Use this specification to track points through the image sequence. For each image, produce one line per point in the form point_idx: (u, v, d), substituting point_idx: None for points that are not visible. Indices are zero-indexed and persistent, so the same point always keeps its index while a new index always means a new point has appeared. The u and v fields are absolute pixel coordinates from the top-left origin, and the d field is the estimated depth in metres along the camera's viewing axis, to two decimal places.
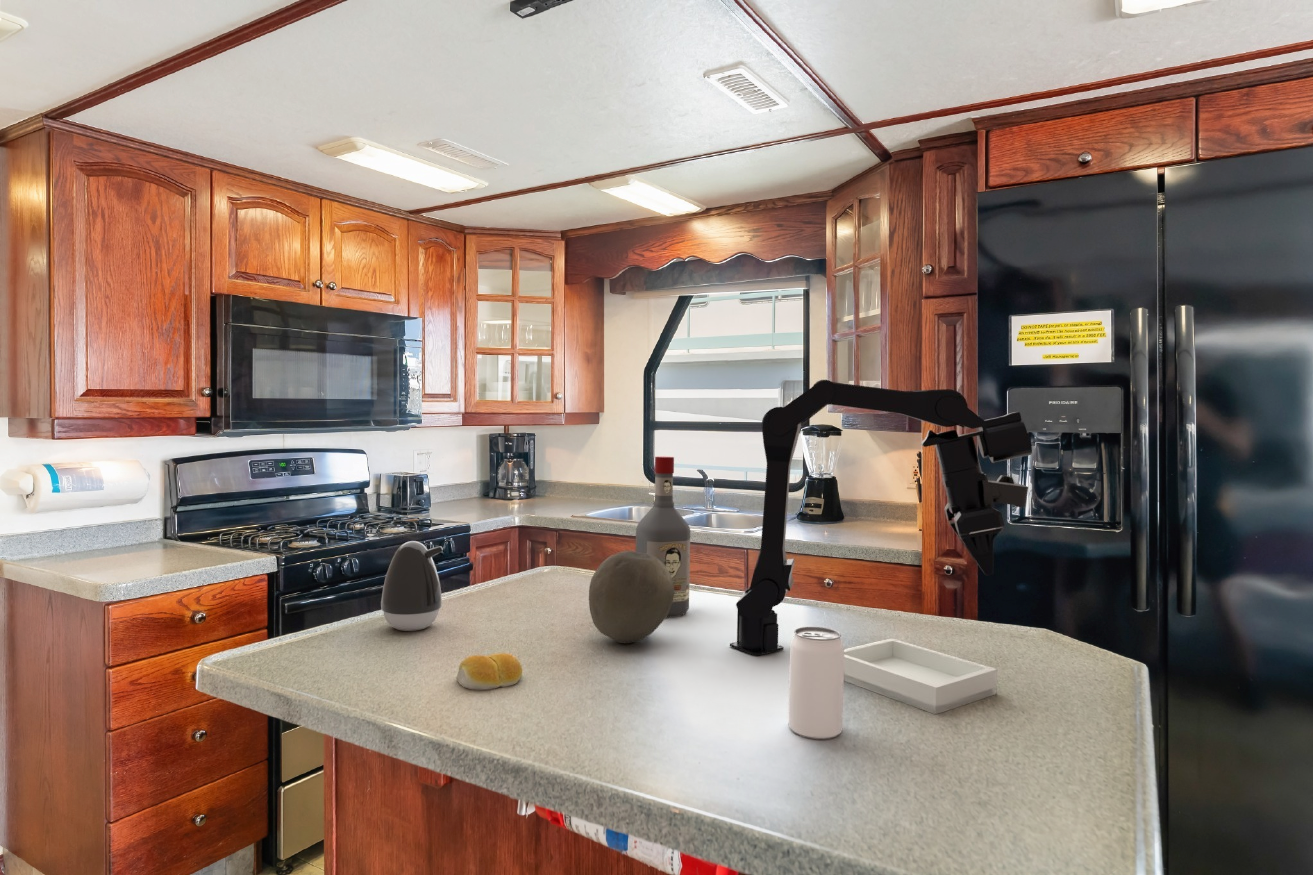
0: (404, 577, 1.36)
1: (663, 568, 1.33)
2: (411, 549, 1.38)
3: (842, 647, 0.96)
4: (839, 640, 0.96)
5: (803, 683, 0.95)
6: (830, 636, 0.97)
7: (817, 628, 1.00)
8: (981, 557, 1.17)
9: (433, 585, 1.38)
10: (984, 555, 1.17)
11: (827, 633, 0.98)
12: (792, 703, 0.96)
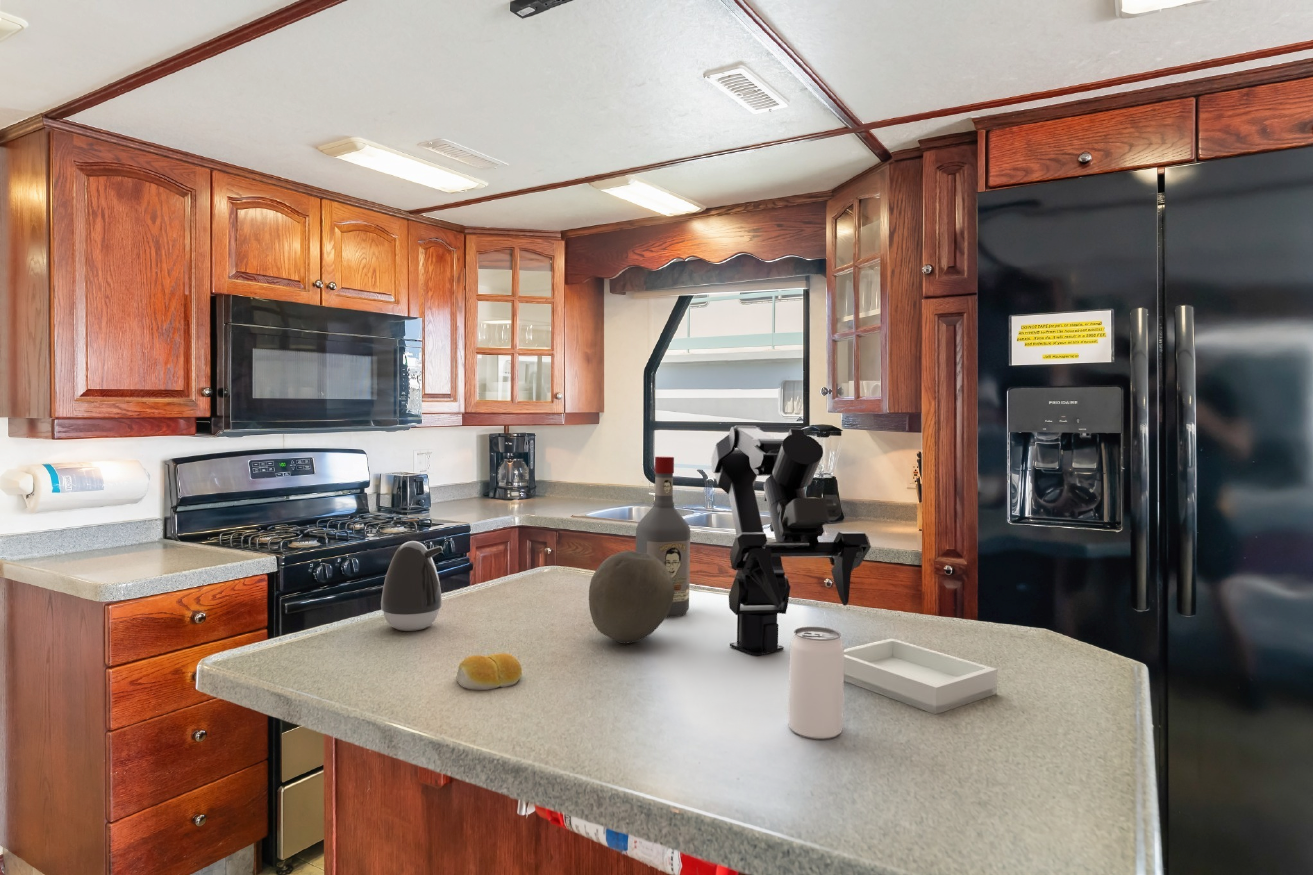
0: (404, 577, 1.36)
1: (663, 568, 1.33)
2: (411, 549, 1.38)
3: (842, 647, 0.96)
4: (839, 640, 0.96)
5: (803, 683, 0.95)
6: (830, 636, 0.97)
7: (817, 628, 1.00)
8: (766, 588, 1.07)
9: (433, 585, 1.38)
10: (766, 585, 1.06)
11: (827, 633, 0.98)
12: (792, 703, 0.96)
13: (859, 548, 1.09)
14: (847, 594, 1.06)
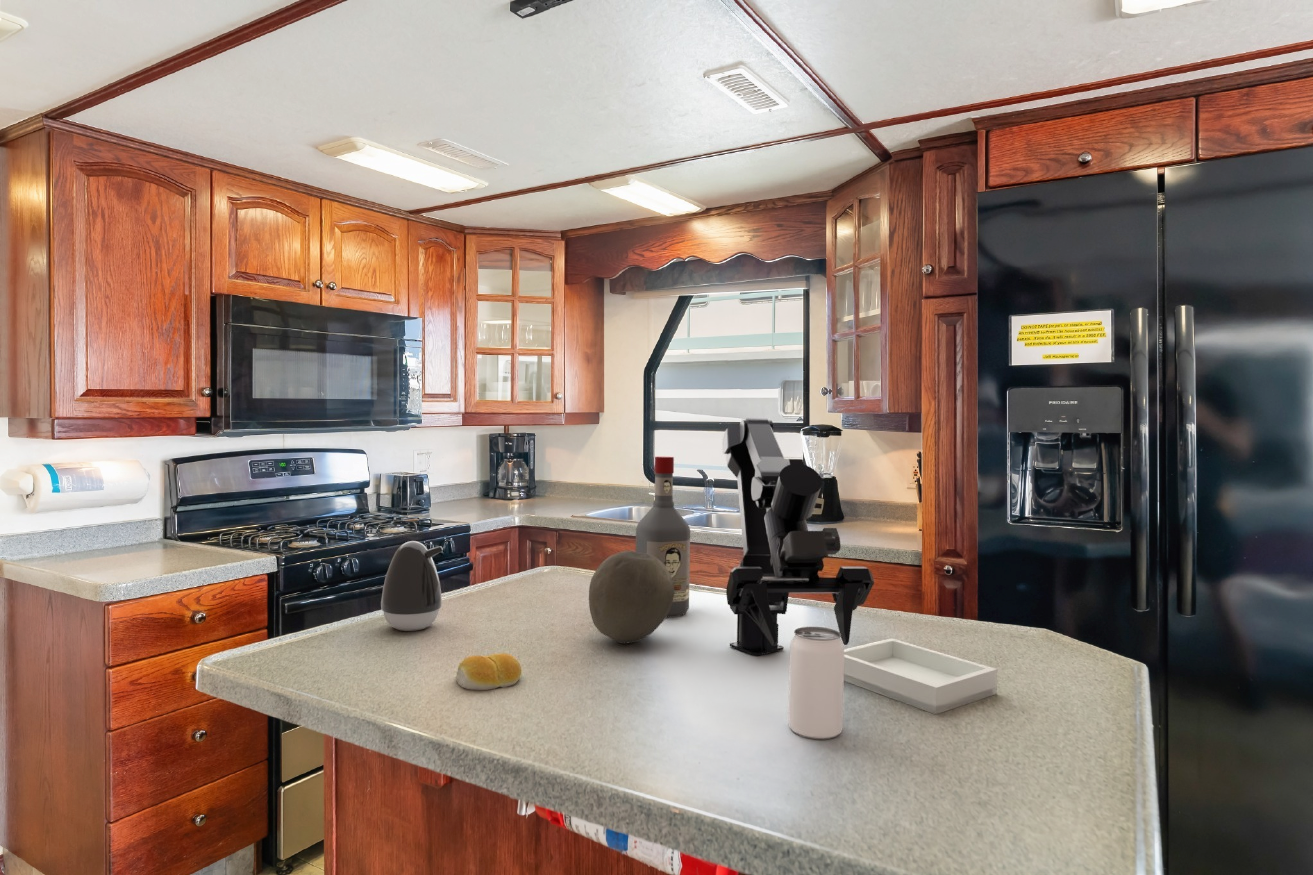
0: (404, 577, 1.36)
1: (663, 568, 1.33)
2: (411, 549, 1.38)
3: (842, 647, 0.96)
4: (839, 640, 0.96)
5: (803, 683, 0.95)
6: (830, 636, 0.97)
7: (817, 628, 1.00)
8: (762, 626, 1.02)
9: (433, 585, 1.38)
10: (762, 622, 1.02)
11: (828, 633, 0.98)
12: (792, 703, 0.96)
13: (861, 584, 1.03)
14: (848, 633, 1.01)
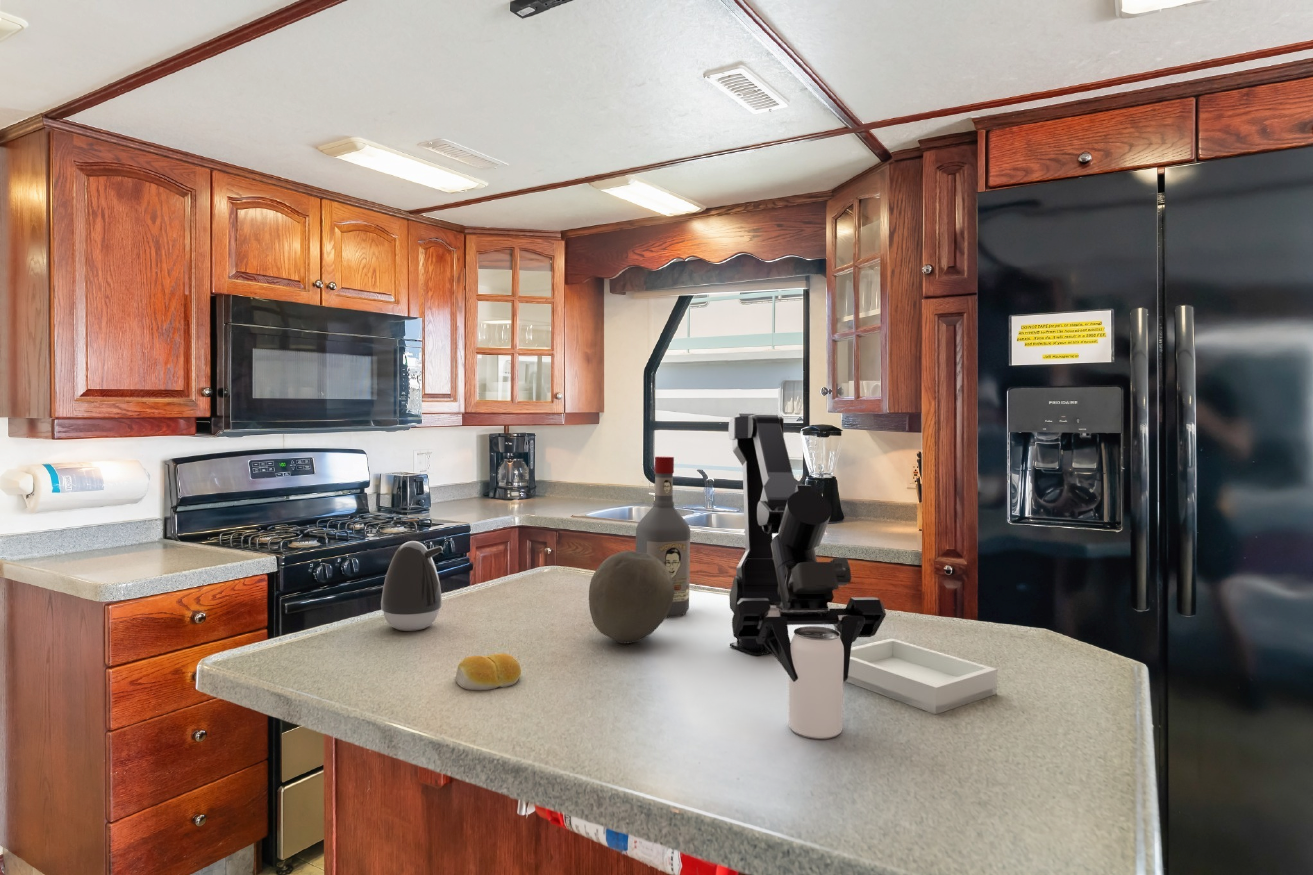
0: (404, 577, 1.36)
1: (663, 568, 1.33)
2: (411, 549, 1.38)
3: (842, 647, 0.96)
4: (839, 640, 0.96)
5: (802, 683, 0.95)
6: (830, 636, 0.97)
7: (817, 628, 1.00)
8: (782, 660, 0.98)
9: (433, 585, 1.38)
10: (782, 657, 0.98)
11: (827, 632, 0.98)
12: (792, 703, 0.96)
13: (860, 616, 0.99)
14: (846, 668, 0.96)
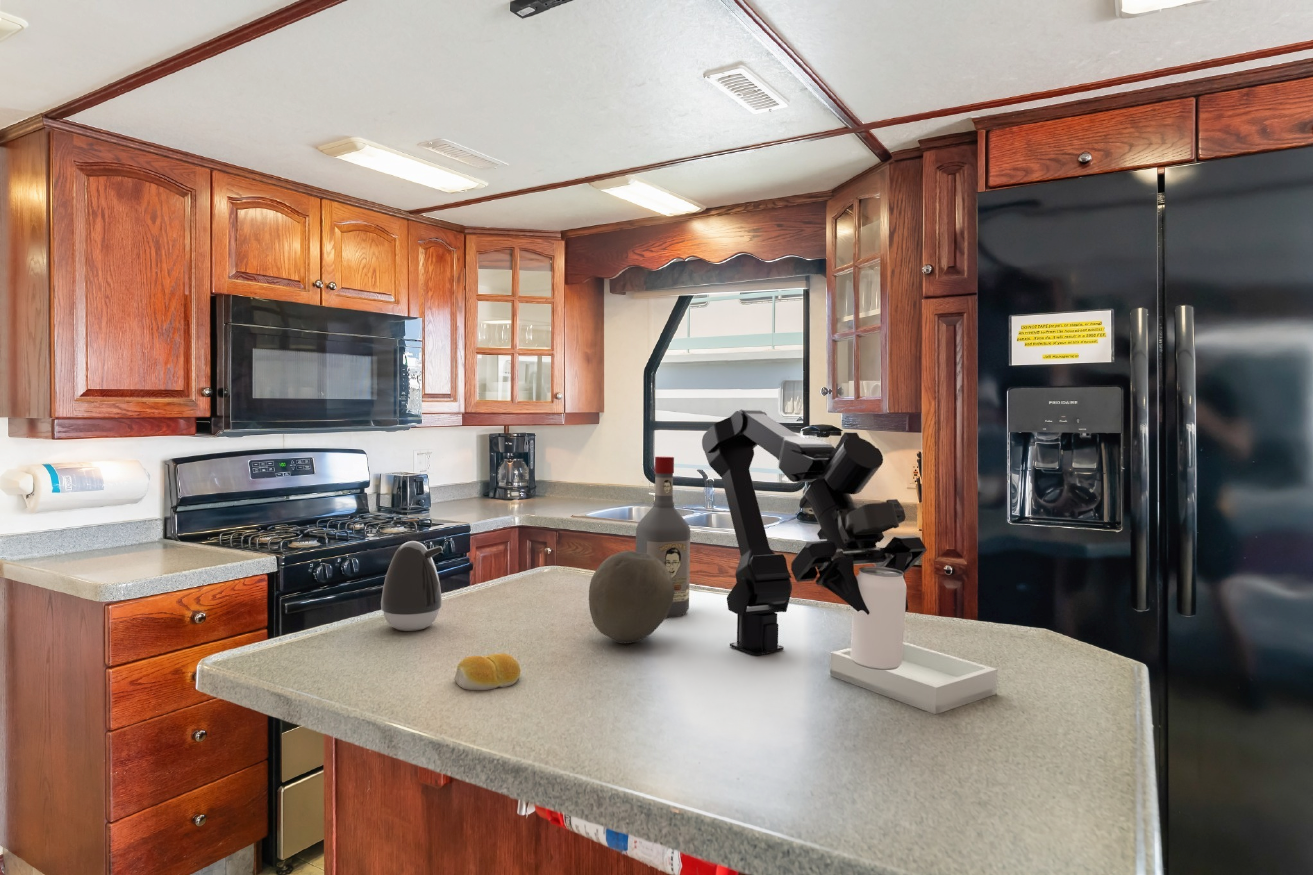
0: (404, 577, 1.36)
1: (663, 568, 1.33)
2: (411, 549, 1.38)
3: None
4: None
5: (875, 618, 1.00)
6: (893, 573, 1.03)
7: (873, 568, 1.05)
8: (849, 598, 1.02)
9: (433, 585, 1.38)
10: (850, 595, 1.02)
11: (886, 571, 1.04)
12: (861, 638, 1.01)
13: (909, 553, 1.06)
14: (906, 601, 1.03)
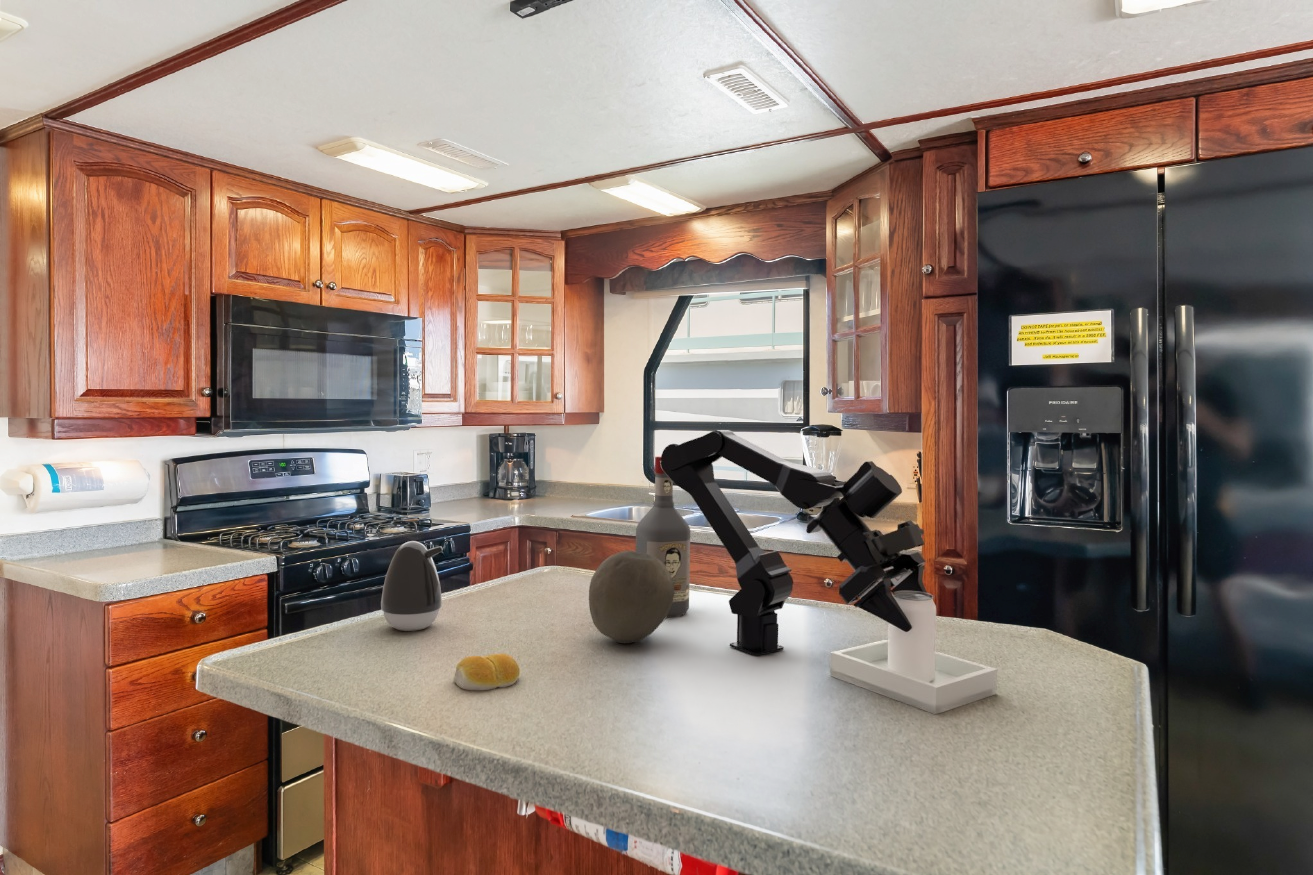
0: (404, 577, 1.36)
1: (663, 568, 1.33)
2: (411, 549, 1.38)
3: None
4: (929, 597, 1.15)
5: (920, 639, 1.11)
6: (920, 596, 1.15)
7: (898, 592, 1.16)
8: (889, 616, 1.11)
9: (433, 585, 1.38)
10: (890, 613, 1.11)
11: (911, 594, 1.16)
12: (907, 658, 1.12)
13: (924, 566, 1.21)
14: None
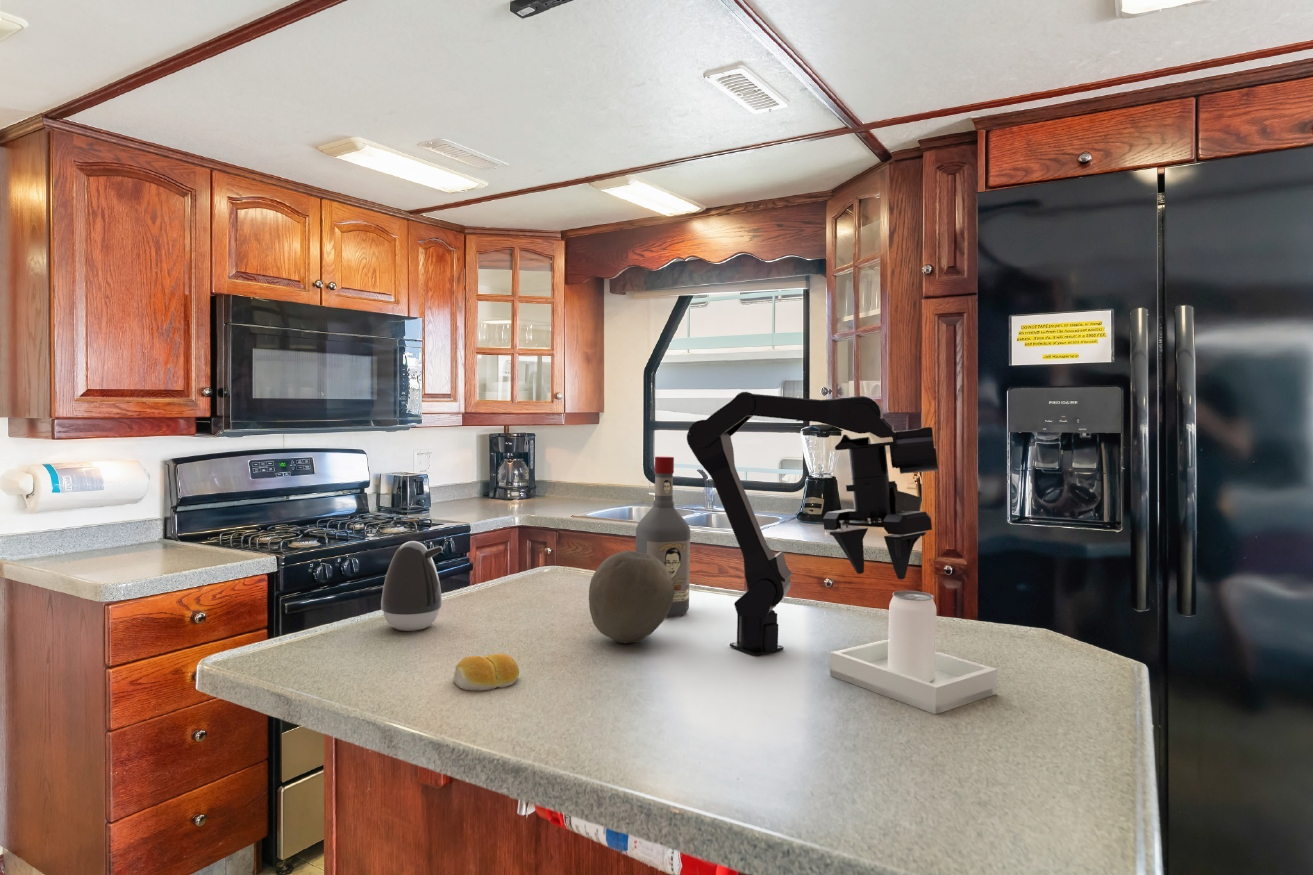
0: (404, 577, 1.36)
1: (663, 568, 1.33)
2: (411, 549, 1.38)
3: None
4: (930, 597, 1.15)
5: (920, 639, 1.11)
6: (921, 596, 1.15)
7: (898, 592, 1.17)
8: (901, 561, 1.19)
9: (433, 585, 1.38)
10: (903, 559, 1.19)
11: (911, 594, 1.16)
12: (907, 658, 1.12)
13: (858, 528, 1.32)
14: None
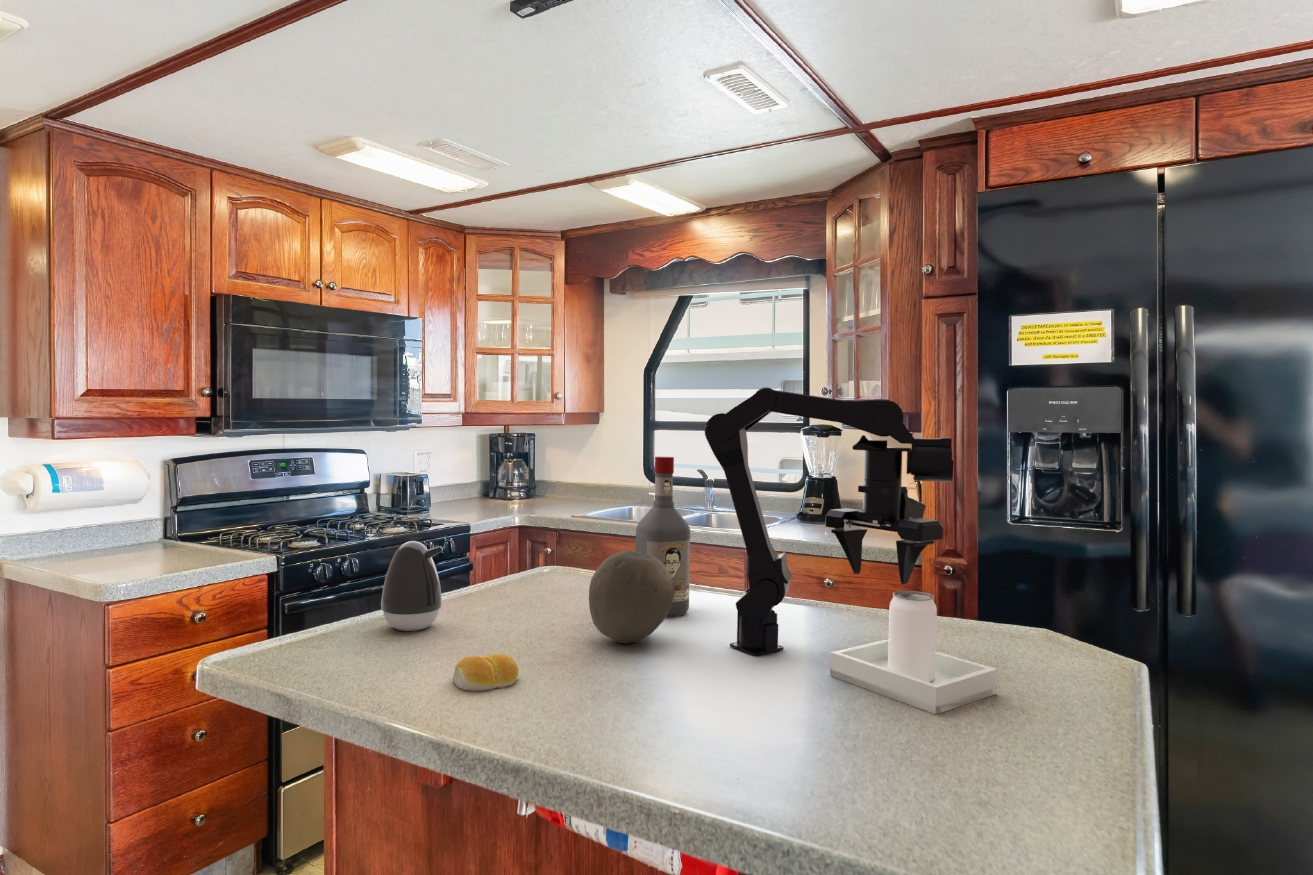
0: (404, 577, 1.36)
1: (663, 568, 1.33)
2: (411, 549, 1.38)
3: None
4: (930, 598, 1.15)
5: (920, 639, 1.11)
6: (921, 596, 1.15)
7: (899, 592, 1.17)
8: (908, 566, 1.20)
9: (433, 585, 1.38)
10: (910, 565, 1.21)
11: (911, 594, 1.16)
12: (907, 658, 1.12)
13: None
14: None
